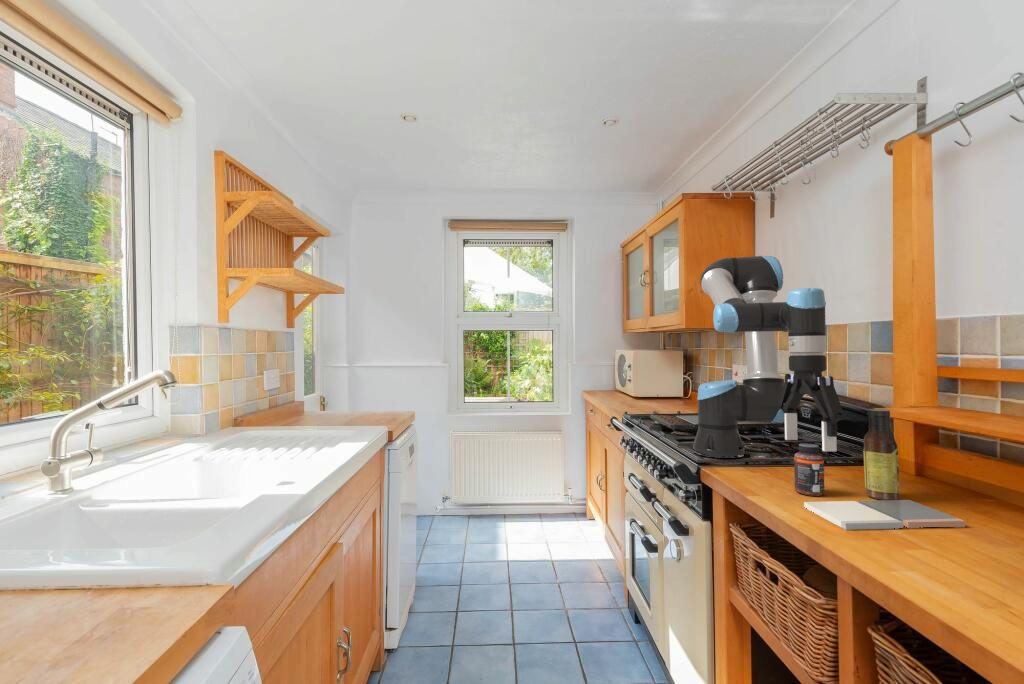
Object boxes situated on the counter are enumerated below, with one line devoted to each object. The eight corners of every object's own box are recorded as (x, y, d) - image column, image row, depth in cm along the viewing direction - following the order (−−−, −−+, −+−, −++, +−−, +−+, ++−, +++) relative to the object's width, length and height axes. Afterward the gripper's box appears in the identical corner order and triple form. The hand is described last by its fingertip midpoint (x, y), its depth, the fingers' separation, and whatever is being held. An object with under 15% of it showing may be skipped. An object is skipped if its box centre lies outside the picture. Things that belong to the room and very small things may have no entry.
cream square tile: (804, 507, 101) (804, 501, 101) (854, 506, 101) (854, 500, 101) (845, 529, 88) (845, 523, 88) (903, 528, 89) (902, 522, 89)
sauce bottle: (906, 502, 103) (904, 412, 103) (874, 501, 104) (872, 411, 104) (889, 493, 109) (887, 408, 109) (858, 492, 110) (857, 407, 111)
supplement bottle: (825, 498, 106) (824, 448, 106) (795, 494, 109) (794, 446, 109) (823, 491, 111) (822, 443, 112) (794, 487, 114) (793, 441, 114)
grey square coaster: (859, 506, 101) (859, 500, 101) (909, 505, 101) (909, 499, 101) (908, 528, 89) (908, 522, 89) (965, 527, 89) (965, 520, 89)
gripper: (761, 354, 123) (763, 435, 122) (828, 354, 98) (830, 457, 98) (790, 354, 123) (792, 435, 123) (863, 354, 98) (866, 456, 98)
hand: (809, 445), depth 110 cm, fingers open, 13 cm apart
